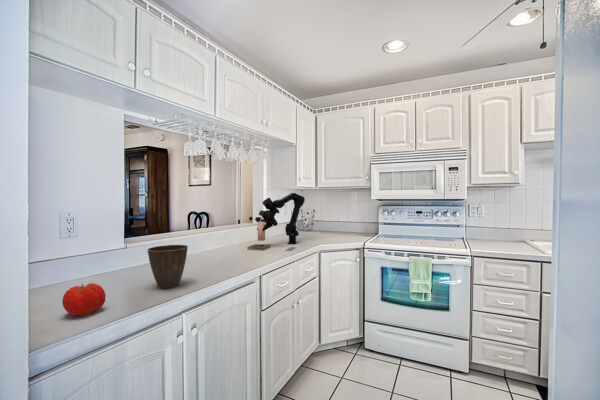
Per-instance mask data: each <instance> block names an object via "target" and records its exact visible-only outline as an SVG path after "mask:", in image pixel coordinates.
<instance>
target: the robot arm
mask: <svg viewBox="0 0 600 400" xmlns="http://www.w3.org/2000/svg"><path fill="white" fill-rule="evenodd" d="M305 199H306V198H305V197H304V196H302V195H299V194H298V193H296V192H291V193H289V194H288V195H285V196H284V197H282V198H280V199H279V198H278V199H275V200H272V199H271V198H270V197H267V198H266V199H264V200H263V201H262V205H263V206H264V208H265V209H266V210H259V212H258V215H259V216H261V217H259V216H255V218H254V220H255V222H256V223H257V224H258V222H260V221H264V222H265V226H264V228H263V229H262V231H265V232H266V230H268V229H269V228H273V227H277V225H278V221H277V220H276V215H277V214H280V210H279V209H282V208H284V206H285V204H287V203H288V202H290V201H293V205H294V207H293V210H292V214H291V217H290V220H289V223H286V224H285V225H286V226H285V227H284V228H285V229H284V230H285V234H286V236H288V242H287V244H288V245H290V244H291V245H295V244H298V242H297V237H298V236H299V234H300V233H299V232H298V230H297V222H298V218H299V214H300V210H301V207H303V206H304V204H305V202H306V201H305ZM256 231H257V232H258V226H257V227H256Z"/></svg>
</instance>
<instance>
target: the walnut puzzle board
mask: <svg viewBox="0 0 600 400" xmlns="http://www.w3.org/2000/svg"><path fill="white" fill-rule="evenodd" d="M270 248H271V244H261V243H259V244H258V243H254V244H252V245H249V246H247V249H246V250H247V251H248V250H249V251H265V250H267V249H270Z"/></svg>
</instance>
